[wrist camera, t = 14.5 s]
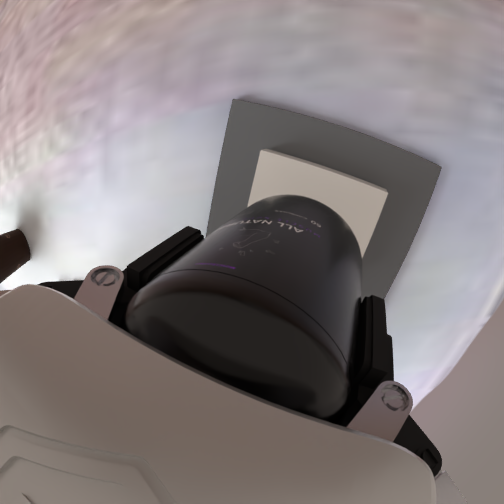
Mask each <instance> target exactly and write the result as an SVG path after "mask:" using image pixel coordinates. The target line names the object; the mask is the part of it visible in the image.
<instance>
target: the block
mask: <svg viewBox="0 0 504 504" xmlns="http://www.w3.org/2000/svg"><path fill="white" fill-rule="evenodd" d="M286 194H290V195H300V196H305V197H309V198H312V199H314V200H317V201H319V202H321V203H323V204H325V205H327V206H328V207H330V208H331V209H333V210H334V211H335V212H337V213H338V214H339V215H340V216H341V217H342V218H343V219H344V220H345V221H346V222H347V224H348V225H349V226H350V228H351V229H352V231H353V233H354V234H355V236H356V239H357V241H358V244H359V247H360V251H361V256H362V258H363V255H364V253H365V251H366V248H367V246H368V244H369V241H370V239H371V236H372V234H373V231H374V229H375V227H376V224H377V221H378V219H379V216H380V214H381V211H382V209H383V206H384V203H385V201H386V198H387V195H388V192H387V190H386V189H385V188H382V187H380V186H377V185H375V184H372V183H370V182H367V181H364V180H362V179H359V178H356V177H354V176H351V175H348V174H345V173H343V172H340V171H337V170H334V169H331V168H328V167H325V166H322V165H319V164H316V163H313V162H310V161H307V160H303V159H300V158H297V157H294V156H290V155H287V154H284V153H280V152H277V151H273V150H270V149H263V150H261V151H260V155H259V159H258V163H257V167H256V172H255V176H254V180H253V184H252V189H251V193H250V197H249V202H248V206H247V207H249V206H250V205H252V204H253V203H255V202H257V201H259V200H262V199H264V198H267V197H271V196H276V195H286Z"/></svg>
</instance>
